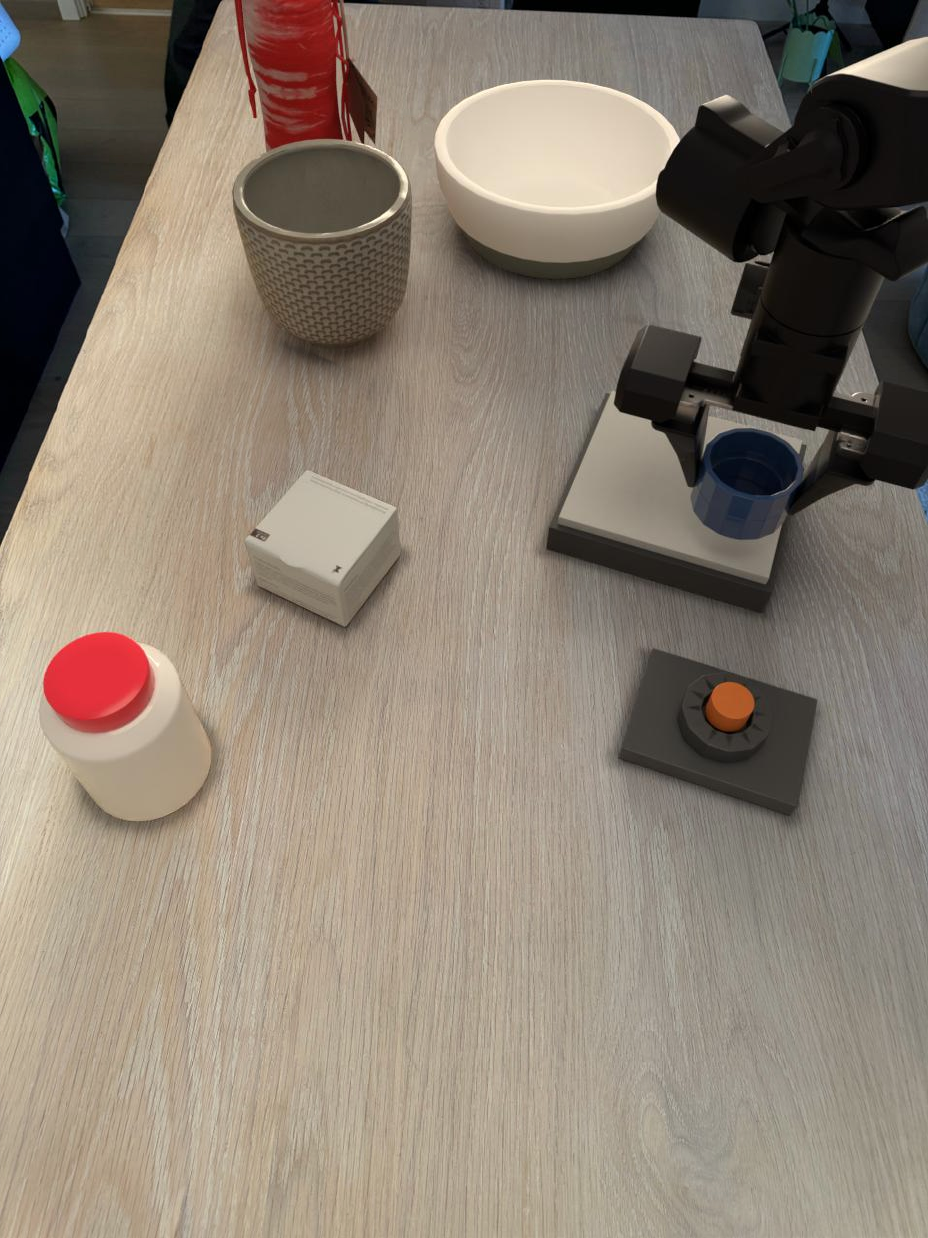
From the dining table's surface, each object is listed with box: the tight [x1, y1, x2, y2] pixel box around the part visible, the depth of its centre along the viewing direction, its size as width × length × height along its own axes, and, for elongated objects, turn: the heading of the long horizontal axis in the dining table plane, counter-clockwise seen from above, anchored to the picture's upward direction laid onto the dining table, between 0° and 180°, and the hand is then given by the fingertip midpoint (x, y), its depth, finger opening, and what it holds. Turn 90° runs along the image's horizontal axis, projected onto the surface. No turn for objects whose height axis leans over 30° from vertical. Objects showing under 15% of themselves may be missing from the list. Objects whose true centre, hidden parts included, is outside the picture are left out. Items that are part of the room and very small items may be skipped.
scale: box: [545, 390, 808, 614], centre depth 71 cm, size 16×15×3 cm
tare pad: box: [618, 647, 818, 816], centre depth 60 cm, size 11×8×3 cm
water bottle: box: [233, 0, 378, 152], centre depth 83 cm, size 12×8×25 cm, turn 84°
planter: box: [231, 139, 413, 350], centre depth 78 cm, size 14×14×13 cm
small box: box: [243, 469, 402, 628], centre depth 66 cm, size 8×8×5 cm
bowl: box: [433, 79, 681, 280], centre depth 89 cm, size 22×22×8 cm
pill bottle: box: [38, 631, 213, 822], centre depth 55 cm, size 8×8×11 cm
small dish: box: [690, 427, 805, 540], centre depth 63 cm, size 6×6×4 cm
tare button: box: [705, 682, 754, 732], centre depth 58 cm, size 3×3×2 cm
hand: (741, 496), depth 64 cm, fingers closed on small dish, 6 cm apart
